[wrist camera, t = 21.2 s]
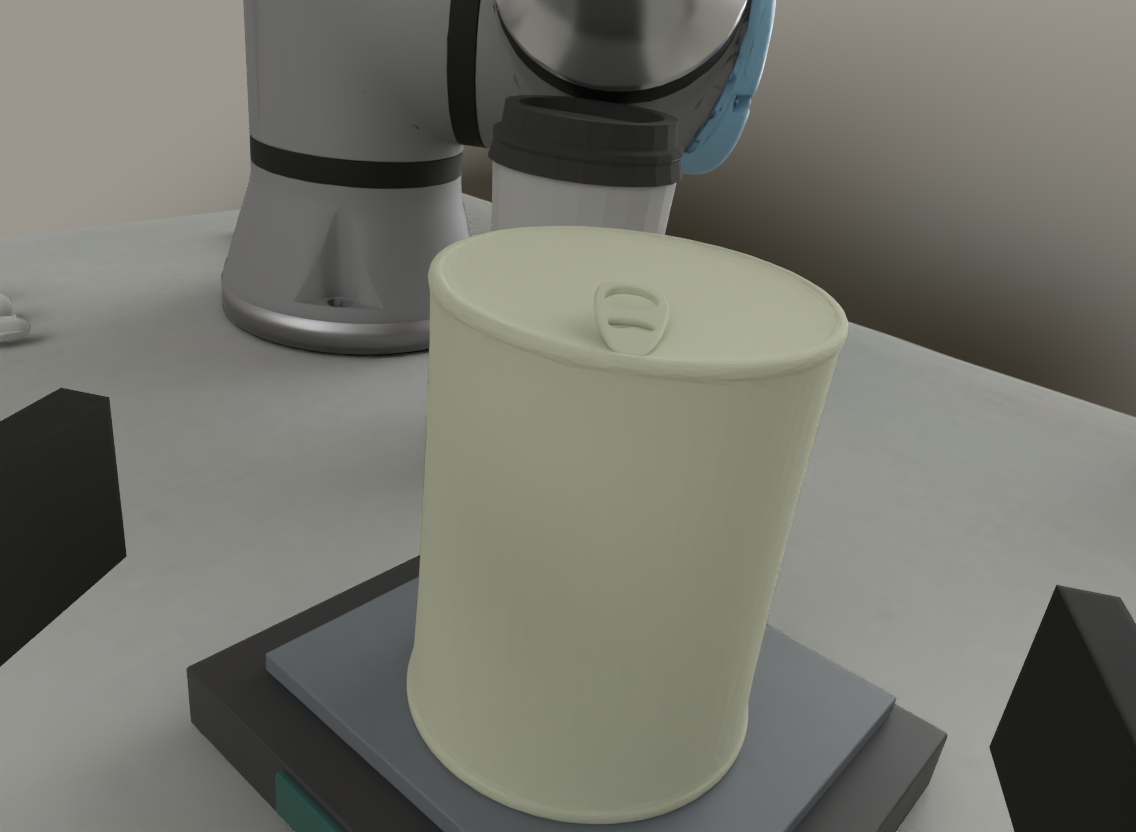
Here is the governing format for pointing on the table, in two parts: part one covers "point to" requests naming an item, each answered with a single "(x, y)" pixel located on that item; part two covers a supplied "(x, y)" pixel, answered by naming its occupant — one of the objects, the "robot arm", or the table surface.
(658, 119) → the coffee cup
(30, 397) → the table surface
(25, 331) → the set of white lumps
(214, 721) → the kitchen scale
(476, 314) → the can
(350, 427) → the table surface
